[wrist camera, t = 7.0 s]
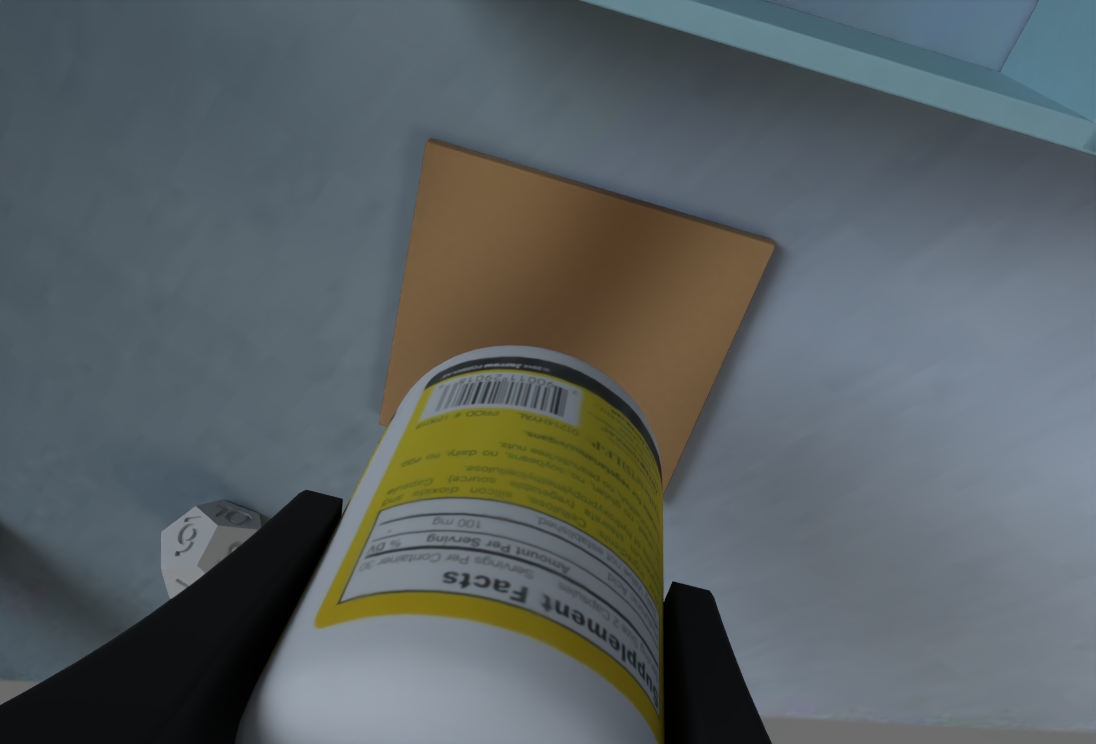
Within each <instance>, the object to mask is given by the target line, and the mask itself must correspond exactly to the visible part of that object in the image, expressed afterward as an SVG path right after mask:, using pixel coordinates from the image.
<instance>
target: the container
mask: <svg viewBox="0 0 1096 744" xmlns="http://www.w3.org/2000/svg"><path fill="white" fill-rule="evenodd" d="M579 1H582V2H586V3H589V4H592V5H596V6H599V7H602V8H606V9H609V10H612V11H616V12H619V13H622V14H626V15H629V16H632V17H636V18H639V19H642V20H646V21H649V22H652V23H656V24H659V25H662V26H665V27H669V28H672V29H675V30H679V31H682V32H685V33H689V34H692V35H695V36H699V37H702V38H705V39H709V40H712V41H715V42H719V43H722V44H725V45H729V46H732V47H735V48H738V49H742V50H745V51H748V52H752V53H755V54H758V55H762V56H765V57H768V58H772V59H775V60H778V61H782V62H785V63H788V64H792V65H795V66H798V67H802V68H805V69H808V70H812V71H815V72H818V73H821V74H825V75H828V76H831V77H835V78H838V79H841V80H845V81H848V82H851V83H855V84H858V85H861V86H865V87H868V88H871V89H875V90H878V91H881V92H885V93H888V94H891V95H894V96H898V97H901V98H904V99H908V100H911V101H914V102H918V103H921V104H924V105H928V106H931V107H934V108H938V109H941V110H944V111H948V112H951V113H954V114H958V115H961V116H964V117H968V118H971V119H974V120H977V121H981V122H984V123H987V124H991V125H994V126H997V127H1001V128H1004V129H1007V130H1011V131H1014V132H1017V133H1021V134H1024V135H1027V136H1031V137H1034V138H1037V139H1041V140H1044V141H1047V142H1050V143H1054V144H1057V145H1060V146H1064V147H1067V148H1070V149H1074V150H1077V151H1080V152H1084V153H1087V154H1090V155H1094V156H1096V0H1039V2H1038V4H1037V6H1036V8H1035V9H1034V11H1033V13H1032V15H1031V17H1030V19H1029V20H1028V22H1027V24H1026V26H1025V28H1024V29H1023V31H1022V33H1021V35H1020V37H1019V39H1018V40H1017V42H1016V44H1015V46H1014V48H1013V49H1012V51H1011V53H1010V55H1009V57H1008V59H1007V60H1006V62H1005V64H1004V66H1003V68H1002V69H1001V71H1000V72H998V71H995V70H991V69H988V68H985V67H981V66H978V65H975V64H971V63H968V62H965V61H961V60H958V59H955V58H952V57H948V56H945V55H942V54H938V53H935V52H932V51H928V50H925V49H922V48H919V47H915V46H912V45H909V44H905V43H902V42H899V41H895V40H892V39H889V38H885V37H882V36H879V35H876V34H872V33H869V32H866V31H862V30H859V29H856V28H852V27H849V26H846V25H843V24H839V23H836V22H833V21H829V20H826V19H823V18H819V17H816V16H813V15H809V14H806V13H803V12H800V11H796V10H793V9H790V8H786V7H783V6H780V5H776V4H773V3H770V2H767V1H763V0H579Z"/></svg>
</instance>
